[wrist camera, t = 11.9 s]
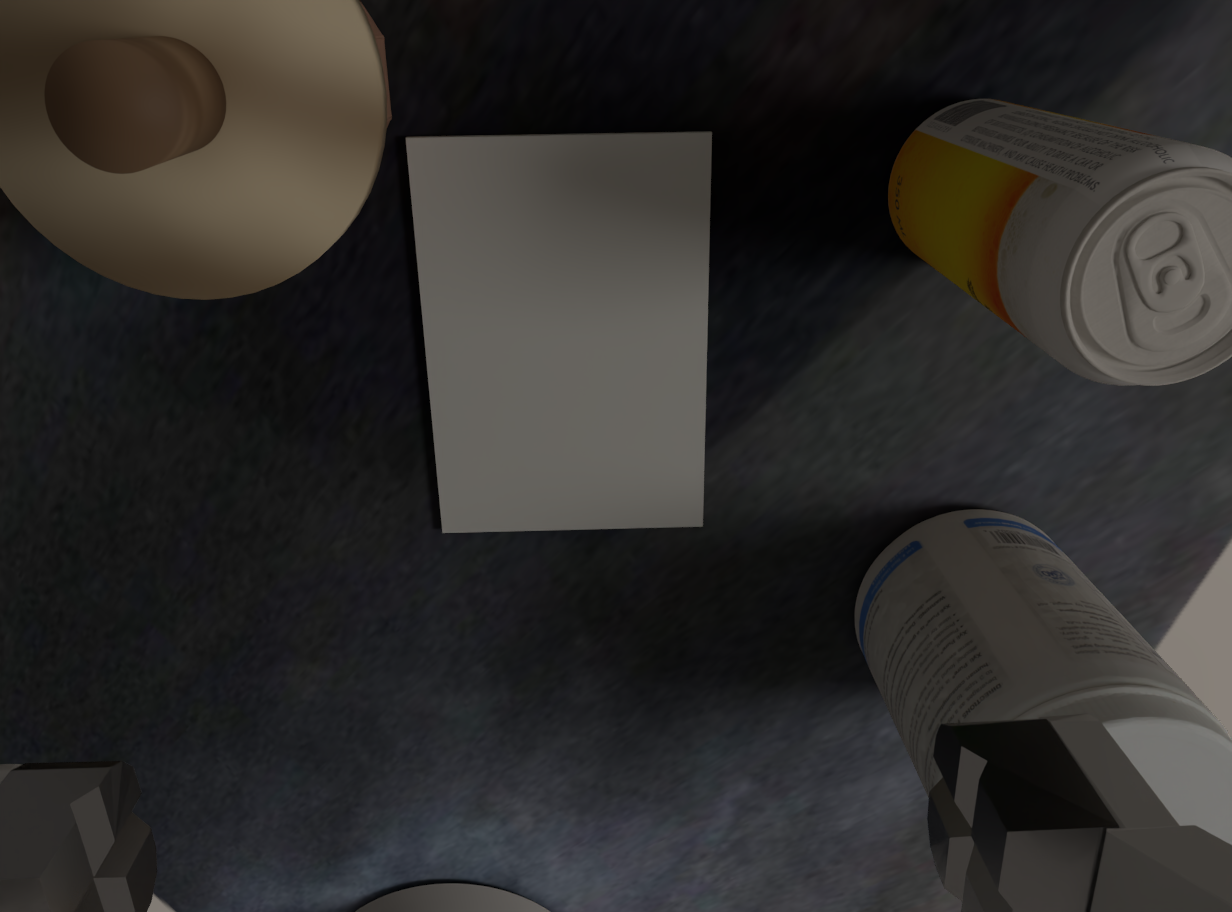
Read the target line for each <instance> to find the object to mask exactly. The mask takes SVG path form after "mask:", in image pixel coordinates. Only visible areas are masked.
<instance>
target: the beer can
mask: <svg viewBox="0 0 1232 912" xmlns="http://www.w3.org/2000/svg"><path fill="white" fill-rule="evenodd" d="M888 206H889V212H890V216H891V219H892V223H893V225H894V227H895V230H896V232H897V233H898V235H899V237H900V239H901V240H902V241H903V242H904V244H905V245H906V246H907V247H908V248H909V249H910V250H911V251H912V252H913V253H914V254H916V255H917V256H918V257H920V258H921V259H922V260H924V261H925V262H926V263H928V264H929V265H930V266H932V267H933V268H934V269H936V270H937V271H938V272H940V273H941V274H942V275H944V276H945V277H946V278H948V279H949V280H950V281H952V282H953V283H954V284H956V285H957V286H958V287H960V288H961V289H962V290H964V291H965V292H966V293H968V294H969V295H970V296H972V297H973V298H974V299H976V300H977V301H978V302H980V303H981V304H982V305H984V306H985V307H986V308H988V309H989V310H990V311H992V312H993V313H994V314H996V315H997V316H998V317H1000V318H1001V319H1002V320H1004V321H1005V322H1006V323H1008V324H1009V325H1010V326H1012V327H1013V328H1014V329H1016V330H1017V331H1018V332H1020V333H1021V334H1022V335H1024V336H1025V337H1026V338H1028V339H1029V340H1030V341H1032V342H1033V343H1034V344H1036V345H1037V346H1038V347H1040V348H1041V349H1042V350H1043V351H1045V352H1046V353H1047V354H1049V355H1050V356H1051V357H1053V358H1054V359H1055V360H1057V361H1058V362H1059V363H1061V364H1062V365H1063V366H1065V367H1066V368H1068V369H1069V370H1070V371H1072V372H1074V373H1076V374H1078V375H1079V376H1081V377H1084V378H1087V379H1089V380H1092V381H1095V382H1099V383H1103V384H1110V385H1120V386H1132V385H1145V386H1157V385H1167V384H1172V383H1177V382H1182V381H1185V380H1188V379H1191V378H1194V377H1196V376H1199V375H1201V374H1203V373H1206V372H1208V371H1209V370H1211V369H1213V368H1215V367H1217V366H1218V365H1220V364H1221V363H1223V362H1224V361H1226V360H1228V359H1229V358H1230V357H1231V356H1232V158H1231V157H1229V156H1228V155H1225V154H1223V153H1221V152H1219V151H1216V150H1213V149H1210V148H1206V147H1203V146H1198V145H1194V144H1190V143H1185V142H1181V141H1176V140H1172V139H1168V138H1163V137H1159V136H1154V135H1150V134H1145V133H1141V132H1137V131H1132V130H1128V129H1123V128H1119V127H1115V126H1110V125H1106V124H1101V123H1097V122H1092V121H1088V120H1084V119H1079V118H1075V117H1070V116H1066V115H1061V114H1057V113H1053V112H1048V111H1044V110H1039V109H1035V108H1031V107H1026V106H1022V105H1017V104H1013V103H1008V102H1004V101H1000V100H993V99H973V100H967V101H962V102H958V103H956V104H953V105H950V106H948V107H946V108H944V109H942V110H940V111H938V112H936V113H935V114H933V115H932V116H930V117H929V118H928V119H926V120H925V121H924V122H923V123H922V124H921V125H920V126H918V127H917V128H916V129H915V130H914V132H913V133H912V134H911V135H910V136H909V138H908V139H907V140H906V142H905V143H904V145H903V146H902V148H901V150H900V152H899V154H898V155H897V158H896V160H895V162H894V165H893V168H892V171H891V175H890V180H889V186H888Z"/></svg>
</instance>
